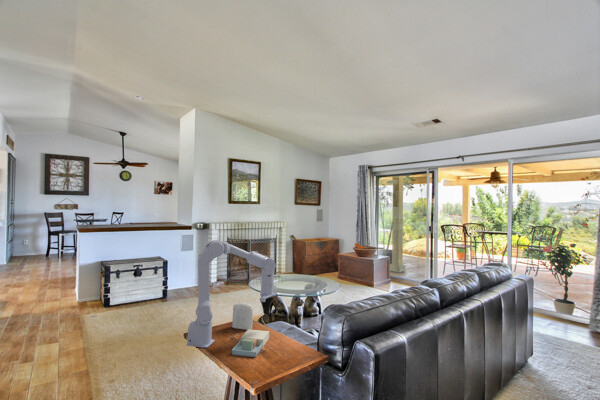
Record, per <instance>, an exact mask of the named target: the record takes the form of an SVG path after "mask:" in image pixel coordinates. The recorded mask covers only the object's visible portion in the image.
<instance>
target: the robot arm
mask: <svg viewBox="0 0 600 400" xmlns="http://www.w3.org/2000/svg"><path fill="white" fill-rule="evenodd" d="M223 254H224V255H227V254H232V255H235V256H238V257H240V258H243V259H244V260H246V263H248V264H249V265H252V266H254V267H256V268H259V269H260V268H261V275H260V276H261V280H260V281H261V283H260V284H261V285H260V298H259V302H260V304H261V307H262V312H263V314H264V315H269V314H270V310H271V305H272V303H273V301H274V299H275V298H274V297H276V293H274V283H275V281H274V280H275V275H274V274H275V273H274V272H275V269H276V267H277V264H276V262H275V260H274V259H272V258H270V257H268V256H267V255H266V254H265V255H264V254H261V253H259V251H258V250H255V251H253V250H252V251H249V252H248V251H247V250H244V249H242V248H240V247H237V246H235V245H233V244H230V243H227V242H225V241H219V240H217V239H213V240H211V241H210V242H208V243H207V244H206V245H205V247H204V248H203V250H202V252H201V253H200V255H199V257H197V271H198V272H197V281H198V282H197V285H198V286H197V287H198V288H197V291H198V293H197V296H198V297H197V298H198V300H197V307H196V309H195V314H196V315H195V316H196V319H195V320H194V321H191V322H190V323H189V325H188V328H187V339H186V344H185V345H186V346H188V347H195V348H205V349H207V348H209V347H210V346H211V345H212V344H213V343H215V341H216V340H215V339H213V338H212V334H213V333H212V331H213V313H212V310H211V305H210V304H211V303H210V263H212V262H213V261H214V260H215V259H216V258H219V257H220V256H222V255H223ZM194 345H195V346H194Z"/></svg>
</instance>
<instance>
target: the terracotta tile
mask: <svg viewBox="0 0 600 400" xmlns="http://www.w3.org/2000/svg"><path fill="white" fill-rule="evenodd" d="M248 339H250V338H248ZM256 346H257V339H254V341H253V349H254V348H255V347H256Z"/></svg>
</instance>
